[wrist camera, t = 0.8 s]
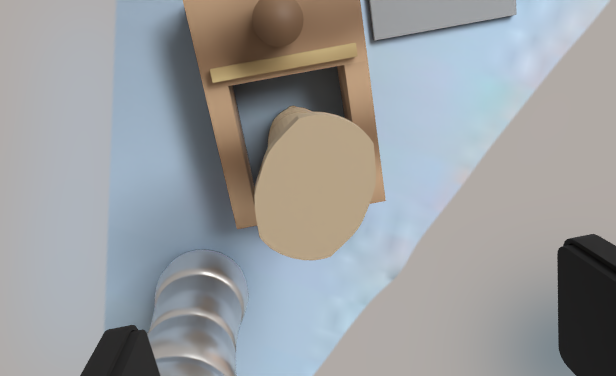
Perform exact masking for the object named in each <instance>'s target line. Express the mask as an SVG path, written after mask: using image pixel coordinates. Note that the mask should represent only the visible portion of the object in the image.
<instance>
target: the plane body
mask: <svg viewBox="0 0 616 376" xmlns="http://www.w3.org/2000/svg"><path fill="white" fill-rule="evenodd" d="M183 3H184V8H185V12H186V16H187V20H188V24H189V29H190V33H191V37H192V41H193V46H194V50H195V54H196V58H197V62H198V67H199V71H200V75H201V79H202V84H203V88H204V92H205V96H206V100H207V105H208V109H209V113H210V117H211V122H212V126H213V130H214V134H215V138H216V143H217V147H218V151H219V155H220V160H221V164H222V168H223V172H224V177H225V181H226V185H227V189H228V193H229V198H230V202H231V206H232V210H233V215H234V219H235V223H236V227H237V229H241V228H246V227H252V226H257V220H256V213H255V199H254V191H255V186H254V182H253V177H252V172H251V168H250V163H249V159H248V154H247V149H246V145H245V140H244V136H243V131H242V126H241V122H240V117H239V113H238V108H237V103H236V99H235V94H234V90H233V85H237V84H242V83H248V82H253V81H259V80H264V79H269V78H275V77H280V76H286V75H291V74H297V73H302V72H308V71H313V70H319V69H324V68H330V67H335V66H337V70H338V77H339V84H340V90H341V97H342V104H343V111H344V117H345V119H347V120H349V121H351V122H353V123H354V124H356V125H357V126H359V127H360V128H361V129H362V130H363V131H364V132H365V133H366V134H367V135H368V136H369V138H370V139H371V140H372V142H373V143H374V153H375V165H376V184H375V189H374V192H373V196H372V199H371V201H370V204H371V203H376V202H382V201H386V200H385V192H384V185H383V177H382V169H381V161H380V153H379V145H378V138H377V130H376V122H375V114H374V106H373V98H372V90H371V83H370V75H369V67H368V59H367V51H366V43H365V36H364V28H363V20H362V12H361V4H360V0H183Z"/></svg>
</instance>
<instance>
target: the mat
mask: <svg viewBox="0 0 616 376" xmlns="http://www.w3.org/2000/svg"><path fill="white" fill-rule="evenodd" d="M369 5H370V13H371V22H372V30H373V38H374V40H380V39H385V38H391V37H396V36H402V35H407V34H413V33H418V32H424V31H429V30H435V29H440V28H446V27H451V26H457V25H462V24H468V23H473V22H479V21H484V20H490V19H495V18H501V17H506V16H512V15H516V0H369Z"/></svg>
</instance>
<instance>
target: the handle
mask: <svg viewBox="0 0 616 376" xmlns="http://www.w3.org/2000/svg"><path fill="white" fill-rule="evenodd" d="M375 184H376V165H375V153H374V143H373V142H372V140H371V139H370V138H369V136H368V135H367V134H366V133H365V132H364V131H363V130H362V129H361V128H360V127H359V126H357V125H356V124H354V123H353V122H351V121H349V120H347V119H345V118H343V117H340V116H338V115H334V114H330V113H326V112H312V111H311V110H308V109H305V108H300V107H296V106H289V107H288V108H287V109H286V110H284V111H283V112H281V113H280V114H279V115H278V116H277V117H276V118H275V119H274V120H273V122H272V125H271V127H270V131H269V135H268V148H267V151H266V153H265V155H264V158H263V161H262V164H261V167H260V170H259V174H258V177H257V180H256V184H255V191H254V199H255V213H256V220H257V226H258V231H259V237H260V238H261V239H262V240H263V242H264V243H265V244H266V245H268V246H269V247H270V248H271V249H273V250H274V251H276V252H278V253H280V254H282V255H285V256H288V257H291V258H295V259H301V260H319V259H324V258H327V257H331V256H332V255H333V254H334V253H335V252H336V251H337V250H338V249H339V248H340V247H341V246H342V245H343V244H344V243H345V242H346V241H347V240H348V239H349V238H350V237H351V236H352V235H353V234H354V233H355V232H356V230H357V229H358V228H359V226H360V224H361V223H362V221H363V219H364V217H365V214H366V211H367V209H368V206H369V204H370V201H371V199H372V196H373V192H374V189H375Z"/></svg>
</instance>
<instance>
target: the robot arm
mask: <svg viewBox="0 0 616 376" xmlns="http://www.w3.org/2000/svg"><path fill="white" fill-rule="evenodd" d="M558 333H559V351H560V355H561V357H562V359H563V361H564V363H565V364H566V365H567V366H568V367H569V368H570V369H571V371H572V372H573V373H574V374H575V375H576V376H616V246H615V245H613V244H611V243H610V242H608V241H606V240H605V239H603V238H601V237H599V236H597V235H595V234H590V235H586V236H580V237H575V238H570V239H567V240H566V241H565V243H564V245H563V247H560V248H559V250H558ZM80 376H160V373H159V370H158V367H157V363H156V360H155V357H154V354H153V351H152V348H151V345H150V342H149V339H148V336H147V333H146V332H145V330H138V329H137V328H136V326H134V325H129V326H124V327H119V328H114V329H109V330H106V331H105V333H104V334H103V336H102V338H101V340H100V341H99V343H98V345H97V347H96V348H95V350H94V352H93V354H92V356H91V357H90V359H89V361H88V363H87V365H86V366H85V368H84V370H83V372H82V374H81V375H80Z"/></svg>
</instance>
